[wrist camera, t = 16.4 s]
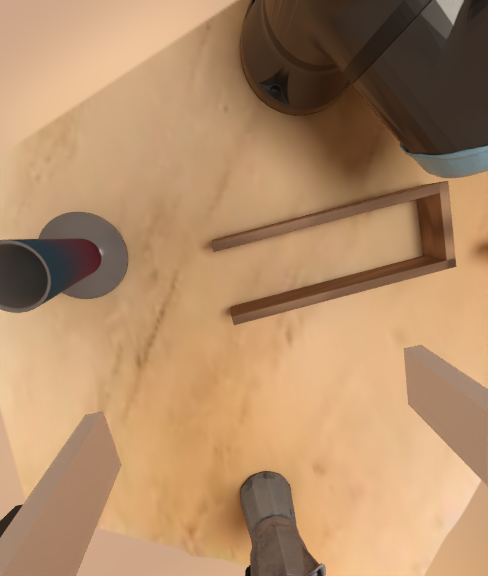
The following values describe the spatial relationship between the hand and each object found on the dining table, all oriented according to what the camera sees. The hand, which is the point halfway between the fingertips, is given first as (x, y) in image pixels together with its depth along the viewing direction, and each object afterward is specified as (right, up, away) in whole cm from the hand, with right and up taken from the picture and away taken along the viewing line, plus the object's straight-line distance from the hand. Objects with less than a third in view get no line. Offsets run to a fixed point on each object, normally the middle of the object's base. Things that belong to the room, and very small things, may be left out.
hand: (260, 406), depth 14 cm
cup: (-23, +9, +30) cm, 39 cm away
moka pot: (+3, -31, +42) cm, 52 cm away
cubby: (+11, +11, +33) cm, 36 cm away
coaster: (-23, +10, +30) cm, 39 cm away
